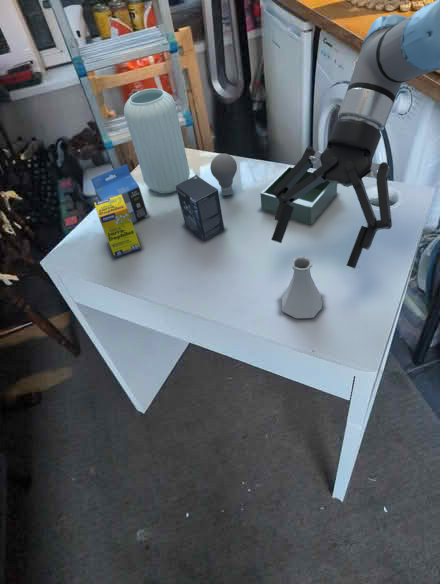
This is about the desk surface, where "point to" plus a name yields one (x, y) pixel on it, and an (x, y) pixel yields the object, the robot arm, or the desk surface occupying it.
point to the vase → (157, 139)
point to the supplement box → (117, 225)
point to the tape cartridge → (121, 191)
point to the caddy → (304, 206)
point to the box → (200, 207)
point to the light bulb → (224, 171)
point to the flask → (301, 292)
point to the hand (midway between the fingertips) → (311, 253)
